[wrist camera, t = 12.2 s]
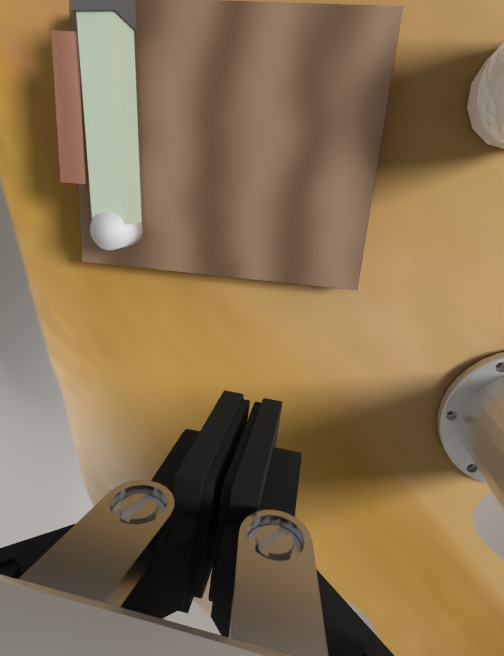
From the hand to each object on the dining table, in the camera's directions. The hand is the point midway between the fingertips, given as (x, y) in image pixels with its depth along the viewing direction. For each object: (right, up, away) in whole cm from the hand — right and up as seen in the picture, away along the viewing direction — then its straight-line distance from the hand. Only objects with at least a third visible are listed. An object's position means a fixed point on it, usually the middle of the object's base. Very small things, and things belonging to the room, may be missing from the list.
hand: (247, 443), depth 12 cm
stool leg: (-9, +17, +18) cm, 27 cm away
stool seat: (-2, +17, +20) cm, 26 cm away
